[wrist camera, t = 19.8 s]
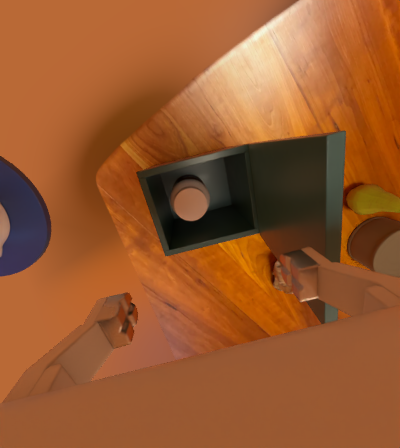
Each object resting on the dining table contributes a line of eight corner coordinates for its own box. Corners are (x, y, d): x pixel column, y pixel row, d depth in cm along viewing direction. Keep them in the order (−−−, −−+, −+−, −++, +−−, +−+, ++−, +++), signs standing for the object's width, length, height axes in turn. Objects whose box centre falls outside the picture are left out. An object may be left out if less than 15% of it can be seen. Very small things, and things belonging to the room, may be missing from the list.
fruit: (333, 207, 41) (391, 227, 29) (347, 178, 39) (415, 188, 27) (358, 212, 42) (423, 234, 30) (373, 185, 40) (448, 197, 28)
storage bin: (171, 222, 39) (165, 256, 26) (153, 165, 35) (136, 172, 22) (235, 206, 39) (261, 232, 26) (225, 147, 35) (250, 143, 22)
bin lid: (324, 328, 12) (337, 326, 12) (326, 135, 8) (346, 130, 8) (259, 234, 25) (265, 233, 25) (247, 144, 21) (255, 142, 21)
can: (336, 243, 44) (362, 258, 37) (381, 205, 41) (417, 214, 35) (362, 270, 47) (390, 288, 41) (404, 236, 45) (441, 250, 38)
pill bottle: (210, 183, 36) (221, 195, 26) (196, 211, 38) (200, 232, 27) (181, 167, 34) (180, 173, 24) (167, 197, 36) (160, 215, 26)
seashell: (257, 272, 49) (261, 281, 39) (276, 247, 48) (285, 250, 38) (288, 296, 47) (301, 312, 37) (309, 270, 46) (327, 279, 37)
